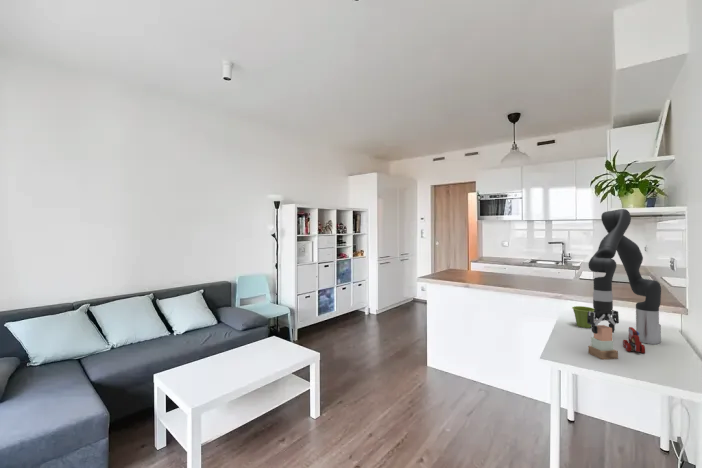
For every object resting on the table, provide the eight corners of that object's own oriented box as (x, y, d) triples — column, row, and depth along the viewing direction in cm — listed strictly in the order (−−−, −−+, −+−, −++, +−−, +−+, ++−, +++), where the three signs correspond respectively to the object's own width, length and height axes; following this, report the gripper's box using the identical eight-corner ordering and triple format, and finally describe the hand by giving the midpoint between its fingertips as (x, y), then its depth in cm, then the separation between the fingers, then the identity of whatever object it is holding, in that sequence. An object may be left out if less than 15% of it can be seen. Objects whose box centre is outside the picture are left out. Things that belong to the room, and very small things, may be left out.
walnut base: (603, 353, 163) (603, 345, 163) (617, 359, 155) (617, 351, 155) (588, 354, 162) (588, 346, 162) (602, 360, 154) (602, 352, 154)
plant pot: (567, 324, 209) (567, 306, 209) (584, 323, 211) (584, 305, 210) (582, 330, 198) (582, 311, 197) (600, 328, 199) (600, 310, 199)
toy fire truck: (628, 353, 161) (628, 332, 161) (621, 345, 172) (621, 325, 172) (647, 355, 158) (646, 334, 157) (638, 347, 169) (638, 327, 168)
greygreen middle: (602, 345, 162) (602, 336, 162) (613, 350, 156) (613, 340, 156) (591, 346, 162) (591, 337, 162) (601, 350, 156) (601, 341, 156)
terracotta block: (603, 337, 161) (603, 325, 161) (612, 340, 156) (612, 328, 156) (593, 337, 161) (593, 325, 161) (602, 341, 156) (602, 328, 156)
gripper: (609, 297, 163) (610, 329, 163) (582, 298, 162) (583, 331, 162) (623, 300, 155) (623, 334, 156) (595, 301, 154) (595, 336, 155)
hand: (603, 332), depth 159 cm, fingers open, 8 cm apart
